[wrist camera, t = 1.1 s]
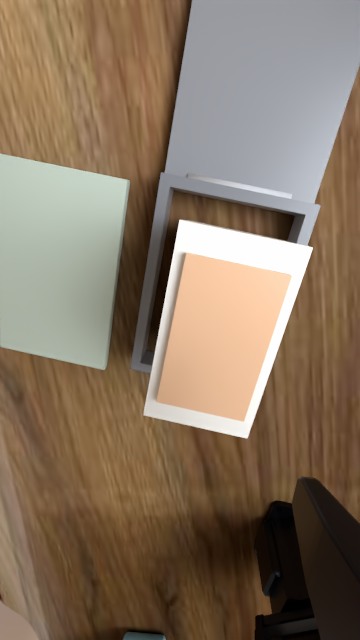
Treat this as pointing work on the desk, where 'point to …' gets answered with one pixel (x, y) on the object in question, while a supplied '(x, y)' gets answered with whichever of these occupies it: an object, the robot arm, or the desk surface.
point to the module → (222, 325)
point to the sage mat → (59, 259)
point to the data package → (142, 636)
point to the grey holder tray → (254, 115)
